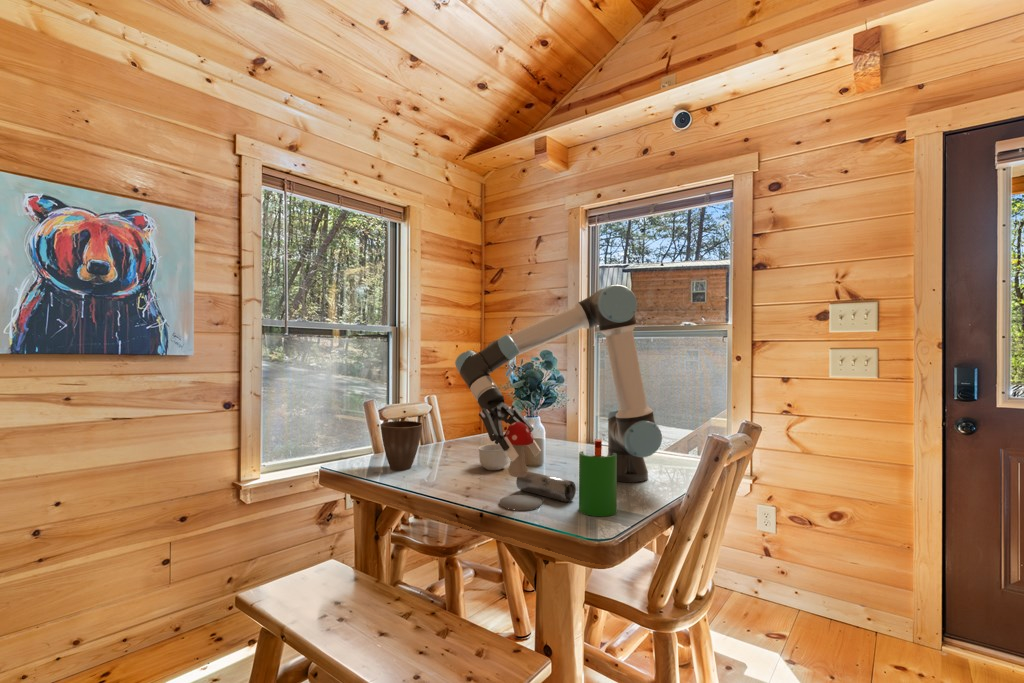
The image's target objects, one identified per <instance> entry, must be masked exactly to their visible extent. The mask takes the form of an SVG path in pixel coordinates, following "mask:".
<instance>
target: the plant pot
mask: <svg viewBox="0 0 1024 683" xmlns="http://www.w3.org/2000/svg"><path fill="white" fill-rule="evenodd" d="M380 430H381V431H380V434H381V438H382V444H383V449H384V452H385V457H386V460H387V463H388V466H389V468H390V469H391V470H394V471H407V470H411V468H412V466H413V464H414V461H415V458H416V456H417V451H418V449H419V445H420V441H421V437H422V430H423V423H422V422H419V421H413V420H395V421H394V420H393V421H387V422H382V423H381V424H380Z"/></svg>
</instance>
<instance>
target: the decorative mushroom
mask: <svg viewBox="0 0 1024 683" xmlns="http://www.w3.org/2000/svg"><path fill="white" fill-rule="evenodd" d="M503 434H504V437H503V438H505V437H507V438H508V439H509V441H510V442H511V444H512V446H513V447H514V449H515V450H516V452H517V454H518V455H519V456H518V457H517V458H516V460H515V461H514V462H511V461H510V462H509V466H508V468H507V470H508V474H509V475H510V476H511V477H514V478H517V477H525V476H526V475H527V472H528V471H529V470H528V466H527V464H526V456H525V452H526V450H525V447H526V446H527V445H529V444H532V443H533V440H534V439H535V438H534V435H533V433H532V432H530V430H529V428H528V427H527V425H525V424H524V423H522V422H514V423H512V424H511V425H510V424H509V426H508V428H507V430H506V431H505V432H504V433H503Z"/></svg>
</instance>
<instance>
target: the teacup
mask: <svg viewBox="0 0 1024 683" xmlns="http://www.w3.org/2000/svg"><path fill="white" fill-rule="evenodd" d="M478 453H479V456H478V457H479V463H480V465H481V466H482V467H483V468H484V469H485V470H488V471H500V470H502V469H504V468H505V467H506V466H507V465H508V464H509V457H508V455H507V453H506V452H505V451H504V450H503V449H502V447H501V445H500V444H499V443H498V444H495V443H492V444H491V443H485V444H484V445H481V446H479V447H478Z"/></svg>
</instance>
